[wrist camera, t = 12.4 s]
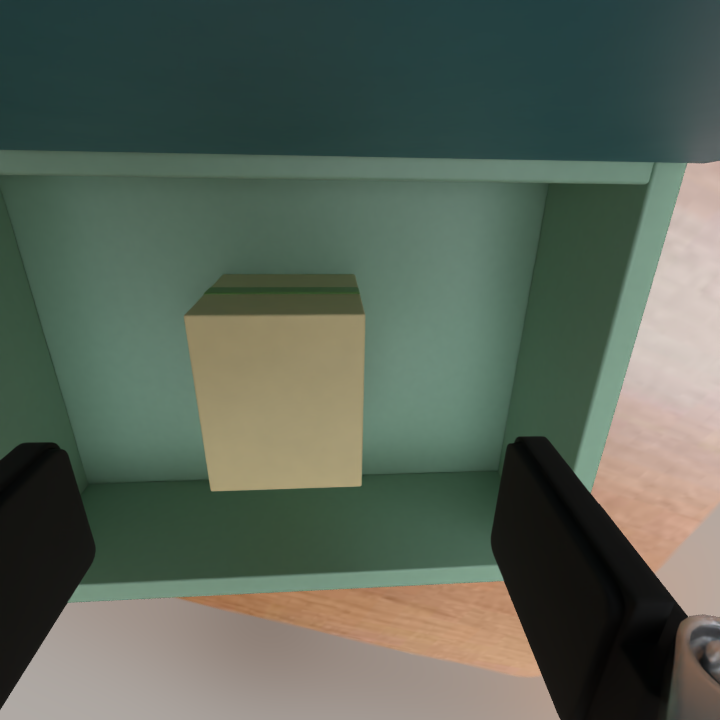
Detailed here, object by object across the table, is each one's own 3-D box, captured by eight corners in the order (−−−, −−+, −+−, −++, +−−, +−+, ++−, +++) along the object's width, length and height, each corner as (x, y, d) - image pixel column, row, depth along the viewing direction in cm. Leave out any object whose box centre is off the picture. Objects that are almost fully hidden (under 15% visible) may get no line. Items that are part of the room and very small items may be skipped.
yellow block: (238, 414, 17) (210, 493, 13) (222, 272, 15) (182, 313, 11) (353, 412, 18) (361, 488, 14) (355, 272, 15) (365, 312, 11)
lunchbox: (505, 472, 21) (567, 578, 15) (83, 486, 19) (-10, 607, 14) (565, 153, 15) (693, 147, 10) (-22, 141, 14) (-240, 126, 8)
